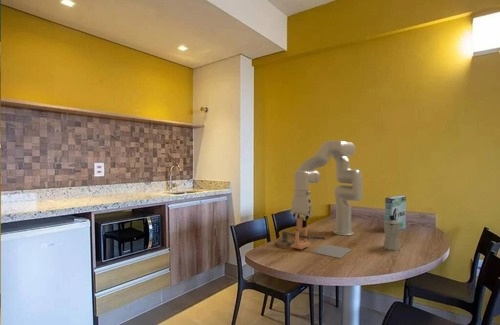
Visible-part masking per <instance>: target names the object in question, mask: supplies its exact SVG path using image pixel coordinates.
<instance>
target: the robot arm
mask: <svg viewBox="0 0 500 325" xmlns="http://www.w3.org/2000/svg"><path fill="white" fill-rule="evenodd" d="M355 153H356V146H355V144H354V143H353V142H351V141H345V140H340V139H339V140H338V139H337V140H327V141H324V142H322V144H321V145H320V147H319V149H318V150H317V152H316V153H315V155H313V156H312V157H310V158H307V159H306V160H305V161H304V162H302V163H300V165H299V166H298V168H297V169H296V170H295V171H294V178H293V179H294V188H293V189H294V192H293V193H294V194H293V197H292V201H291V211H290V215H292V216H293V217H294V219H295V225H296V227H297V218H299V217H301V216H300V215H302V217H303V228H305V227H306V226H307V227H308V223H307V222H308V219H309V218H311V217H313V216H314V215H313V212H312V199H311V196H310V195H311V191H310V190H309V184H317V183H319V182H320V180H321V178H322V177H321V173H320V172H319V171H318V170H316V169H319V168H322V167H325V166H326V165H327V164H328V163H329V162H330V159H331V158H333V159H334V162H335V172H336V174H335V176H336V181H337V182H338V183H341V184H339V185H336V186H335V188H334V197H335V208H336V209H335V229H333V234H335V235H339V236H348V237H349V236H353V235H354V234H355V232H354V231H353V230H352V205H351V203H350V201H352V202H360V201H361V200H362V198H363V193H364V192H363V187H364V186H363V175H362V172H361V170H359V169H358V168H351V165H350V160H349V157H352V156H354V154H355ZM345 184H347V185H345ZM348 184H349V185H348ZM351 184H352V185H351Z"/></svg>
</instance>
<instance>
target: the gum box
mask: <svg viewBox="0 0 500 325" xmlns="http://www.w3.org/2000/svg"><path fill="white" fill-rule="evenodd" d="M384 203H385V204H384V205H385V206H384V207H385V208H384V221H386V220H390V215H393V216H394V220H395V221H398V222H400V223H401V226H400V231H401V230H405V229H406V219H407V218H406V217H407V215H406V214H407V206H406V205H407V204H406V203H407V195H397V196H396V195H395V196H391V197H385V201H384Z"/></svg>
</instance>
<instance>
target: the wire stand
mask: <svg viewBox="0 0 500 325" xmlns="http://www.w3.org/2000/svg"><path fill="white" fill-rule="evenodd" d="M288 236H291V237H295V233H293V232H288V231H285V230H284V231H282V238H281V239H279V240H277V241H275V242H274V247H278V248H282V249H287V248H289V247H292V245H293V244H295V240H294V239H288ZM300 238H301V239H304V238H305V239H307V240H325V239H326V238H325V236H319V235H317V236H316V235H307V236H305V235H304V234H299V239H300Z"/></svg>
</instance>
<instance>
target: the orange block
mask: <svg viewBox="0 0 500 325" xmlns="http://www.w3.org/2000/svg"><path fill="white" fill-rule="evenodd" d="M302 230H303V235H305V236H308V225H307V226H306V227H305V228H303V216H300V217H299V218H297V226H296V228H294V231H295V233H294V234H295V236H294V237H295V238H294V239H295V240H294V241H295V244H293V245H292V246H291V248H294V249H298V250H304V249H305V248H307V247H309V246H311V245H312V243H311V242H310V241H308V239H305V238H303V240H300V237H299V235H300V231H302Z"/></svg>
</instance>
